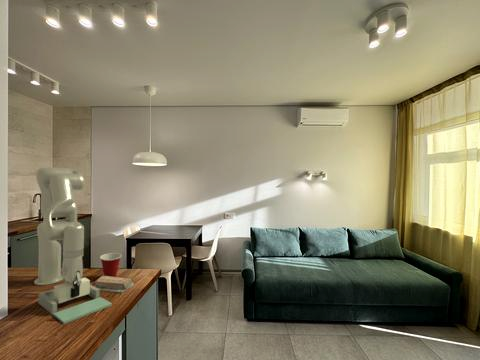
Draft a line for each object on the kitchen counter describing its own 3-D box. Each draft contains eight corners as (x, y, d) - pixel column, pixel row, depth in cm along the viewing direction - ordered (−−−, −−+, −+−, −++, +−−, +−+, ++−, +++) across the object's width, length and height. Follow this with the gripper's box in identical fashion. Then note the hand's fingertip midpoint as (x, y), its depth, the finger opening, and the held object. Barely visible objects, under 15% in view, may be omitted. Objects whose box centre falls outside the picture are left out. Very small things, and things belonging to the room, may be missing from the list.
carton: (54, 300, 108) (54, 285, 108) (84, 290, 117) (84, 277, 117) (58, 303, 105) (59, 289, 105) (89, 293, 114) (89, 280, 114)
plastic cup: (101, 282, 133) (101, 259, 133) (97, 276, 141) (98, 254, 141) (123, 278, 139) (123, 256, 139) (118, 272, 148) (119, 251, 148)
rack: (38, 303, 109) (38, 293, 110) (83, 289, 124) (83, 281, 124) (52, 314, 100) (52, 304, 100) (99, 298, 115) (99, 289, 115)
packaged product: (134, 276, 130) (122, 283, 121) (134, 285, 130) (121, 294, 121) (104, 273, 134) (89, 280, 124) (104, 282, 134) (89, 290, 124)
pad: (53, 315, 100) (53, 313, 100) (100, 298, 114) (100, 297, 114) (63, 323, 94) (63, 321, 94) (111, 305, 109) (111, 303, 109)
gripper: (55, 251, 113) (54, 292, 113) (72, 259, 103) (70, 304, 103) (74, 247, 119) (73, 286, 119) (91, 255, 109) (90, 297, 109)
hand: (72, 294), depth 111 cm, fingers closed on carton, 5 cm apart
